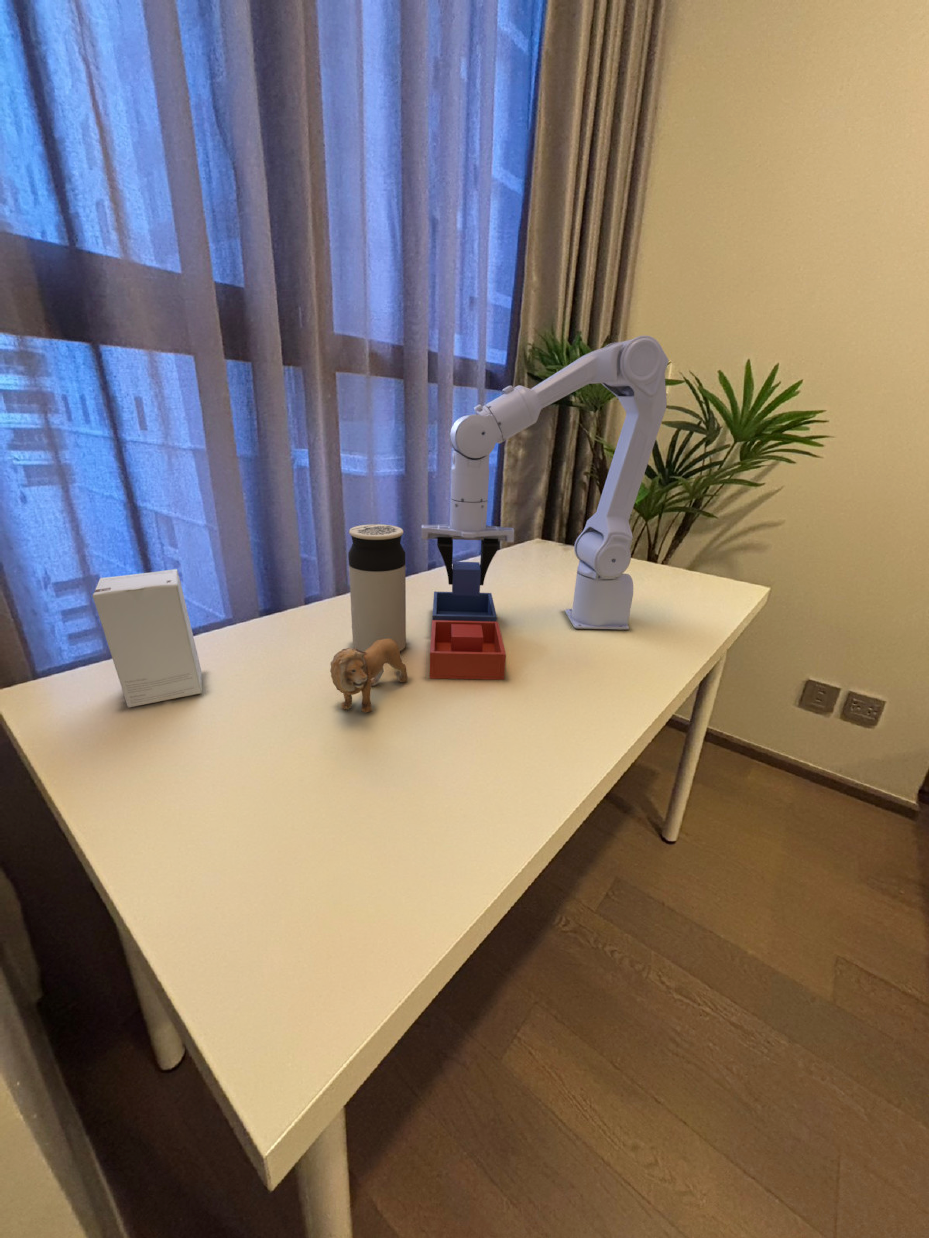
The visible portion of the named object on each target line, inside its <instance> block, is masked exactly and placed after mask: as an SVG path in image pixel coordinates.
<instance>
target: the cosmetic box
mask: <svg viewBox="0 0 929 1238" xmlns="http://www.w3.org/2000/svg"><path fill="white" fill-rule="evenodd" d="M92 599H93V602H94V605H95V608H96V611H97V614H98V617H99V620H100V623H101V627H102V630H103V633H104V636H105V637H104V638H105V641H106V644H107V646H108V649H109V653H110V655H111V658H112V662H113V665H114V668H115V671H116V674H117V678H118V681H119V684H120V687H121V691H122V693H123V697H124V699H125V703H126V705H127V706H126V707H127V708H134V707H138V706H143V705H149V704H153V703H158V702H163V701H168V700H173V699H179V698H184V697H190V696H194V695H200V694H202V692H203V691H202V689H203V688H202V687H203V686H202V685H203V683H202V682H203V681H202V679H203V678H202V667H201V663H200V659H199V658H200V657H199V655H198V650H197V646H196V642H195V637H194V634H193V630H192V625H191V621H190V616H189V612H188V608H187V604H186V599H185V595H184V591H183V586H182V582H181V579H180V574H179V571H178V569H177V568H174V569H167V570H166V569H165V570H158V571H150V572H142V573H134V574H125V575H117V576H116V575H115V576H107V577H100V578H99V580H98V583H97V585H96V587H95V589H94V592H93V594H92Z"/></svg>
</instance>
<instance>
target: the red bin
mask: <svg viewBox="0 0 929 1238" xmlns="http://www.w3.org/2000/svg"><path fill="white" fill-rule="evenodd" d="M452 624H469V625H481V626H482V632H483V651H482V652H451V625H452ZM429 643H430V645H429V679H440V680H441V679H443V680H448V679H449V680H500V681H501V680H502V681H503V680H505V674H506V673H505V671H506V659H507V653H506V648H505V644H504V640H503V637H502V632H501V628H500V624H499V621H497V622H491V621H447V620H432V619H431V629H430V642H429Z"/></svg>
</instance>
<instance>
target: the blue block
mask: <svg viewBox="0 0 929 1238" xmlns="http://www.w3.org/2000/svg"><path fill="white" fill-rule="evenodd" d="M452 569H453V584H452V585H451V592H452V595H456V596H480V593H481V585H480V578H481V568H480V561H452Z"/></svg>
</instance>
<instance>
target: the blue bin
mask: <svg viewBox="0 0 929 1238" xmlns="http://www.w3.org/2000/svg"><path fill="white" fill-rule="evenodd" d="M431 615H432V617H431V621H432V620H447V621H491V622H498V615H497V611H496V607H495V602H494V598H493V594H492V592H480V596H456V595H452V591H437V590H436V591H433V602H432V614H431Z"/></svg>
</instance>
